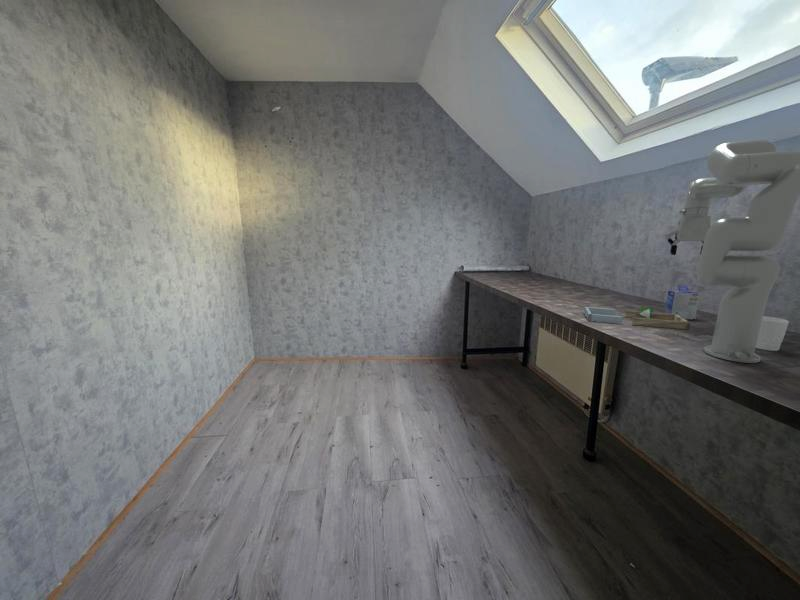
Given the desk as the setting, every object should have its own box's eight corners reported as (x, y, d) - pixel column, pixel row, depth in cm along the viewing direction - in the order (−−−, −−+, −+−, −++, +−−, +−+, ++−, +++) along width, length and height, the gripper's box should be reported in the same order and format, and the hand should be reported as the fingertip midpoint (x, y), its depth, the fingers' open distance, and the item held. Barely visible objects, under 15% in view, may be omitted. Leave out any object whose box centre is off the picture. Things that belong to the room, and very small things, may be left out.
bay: (621, 324, 137) (622, 317, 136) (588, 320, 142) (588, 314, 141) (614, 315, 151) (615, 309, 150) (584, 312, 156) (584, 306, 155)
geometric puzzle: (632, 313, 145) (638, 302, 140) (650, 314, 143) (657, 303, 137) (635, 326, 141) (641, 314, 135) (654, 327, 139) (661, 316, 133)
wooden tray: (688, 330, 128) (690, 322, 128) (632, 324, 136) (633, 317, 135) (675, 320, 141) (676, 314, 141) (624, 316, 149) (625, 310, 148)
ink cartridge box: (687, 316, 148) (693, 285, 145) (696, 320, 142) (702, 287, 139) (663, 315, 150) (668, 285, 147) (670, 319, 144) (676, 287, 141)
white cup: (760, 351, 106) (767, 321, 104) (740, 342, 114) (746, 315, 112) (789, 352, 105) (796, 322, 103) (766, 344, 112) (773, 316, 110)
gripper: (672, 213, 132) (665, 255, 136) (728, 212, 125) (718, 256, 129) (666, 213, 138) (659, 253, 142) (719, 212, 132) (710, 254, 135)
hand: (687, 255), depth 135 cm, fingers open, 9 cm apart
